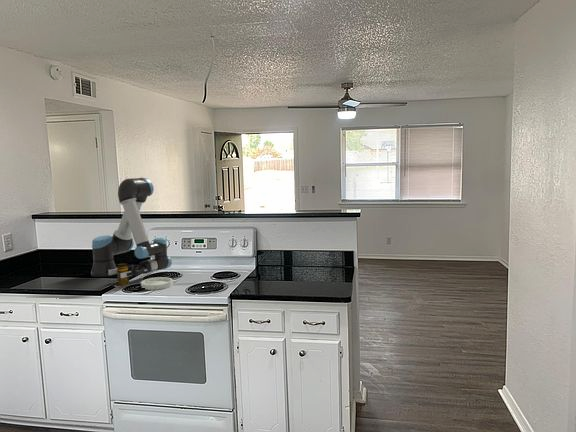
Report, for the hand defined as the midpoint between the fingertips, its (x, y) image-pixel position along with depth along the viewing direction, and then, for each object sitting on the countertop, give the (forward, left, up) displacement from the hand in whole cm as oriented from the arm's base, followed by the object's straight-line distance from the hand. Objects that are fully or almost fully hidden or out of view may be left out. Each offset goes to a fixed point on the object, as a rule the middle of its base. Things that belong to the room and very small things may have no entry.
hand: (114, 274), depth 256 cm
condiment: (-3, +2, -7) cm, 8 cm away
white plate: (-2, +23, -7) cm, 24 cm away
